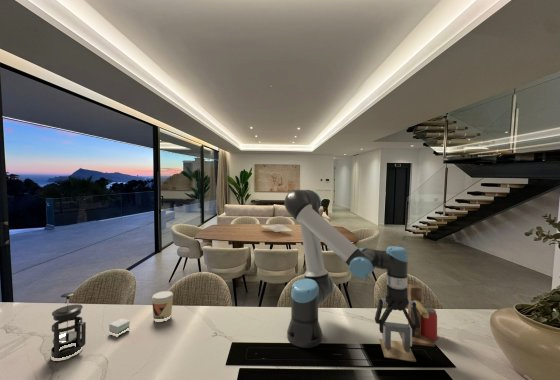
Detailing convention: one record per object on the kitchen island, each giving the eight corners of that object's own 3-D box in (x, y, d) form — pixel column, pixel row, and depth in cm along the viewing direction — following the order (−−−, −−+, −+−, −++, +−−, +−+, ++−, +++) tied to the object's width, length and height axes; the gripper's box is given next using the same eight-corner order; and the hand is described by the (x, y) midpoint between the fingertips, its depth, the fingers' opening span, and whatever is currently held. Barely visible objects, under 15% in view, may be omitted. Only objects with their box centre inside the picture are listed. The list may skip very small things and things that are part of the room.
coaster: (384, 357, 93) (384, 355, 93) (379, 340, 104) (379, 338, 104) (416, 361, 91) (416, 360, 91) (407, 343, 102) (407, 342, 102)
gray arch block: (385, 348, 97) (385, 325, 97) (383, 343, 100) (384, 321, 100) (410, 351, 95) (410, 328, 95) (407, 346, 98) (407, 324, 98)
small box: (117, 338, 104) (117, 326, 104) (108, 335, 106) (108, 323, 106) (130, 331, 109) (130, 320, 109) (121, 328, 111) (121, 317, 111)
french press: (41, 362, 89) (42, 299, 89) (64, 345, 98) (64, 288, 98) (73, 362, 89) (74, 299, 89) (93, 346, 98) (93, 289, 98)
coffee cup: (147, 323, 116) (147, 297, 116) (160, 313, 125) (160, 290, 125) (165, 325, 114) (165, 299, 114) (176, 315, 123) (177, 291, 123)
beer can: (439, 342, 103) (440, 313, 103) (423, 340, 104) (423, 312, 104) (433, 332, 110) (433, 306, 109) (417, 331, 111) (417, 305, 111)
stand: (408, 355, 95) (409, 298, 95) (396, 327, 114) (396, 280, 114) (443, 360, 92) (443, 301, 92) (424, 330, 111) (424, 282, 112)
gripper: (369, 287, 96) (369, 344, 96) (430, 292, 92) (430, 352, 91) (367, 280, 104) (366, 333, 103) (423, 285, 99) (423, 340, 99)
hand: (396, 342), depth 97 cm, fingers closed on gray arch block, 9 cm apart
